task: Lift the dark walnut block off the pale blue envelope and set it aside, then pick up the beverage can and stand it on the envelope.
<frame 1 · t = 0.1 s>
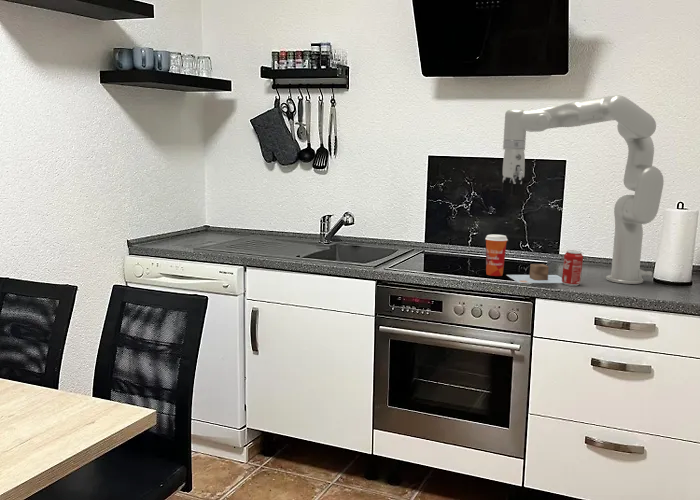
hand: (511, 194, 246), 31 cm above the table, fingers open, 9 cm apart
beverage can: (570, 285, 246), on the table, touching envelope
coffee cup: (494, 275, 261), on the table
walnut block: (538, 278, 254), resting on envelope
envelope: (538, 279, 254), on the table
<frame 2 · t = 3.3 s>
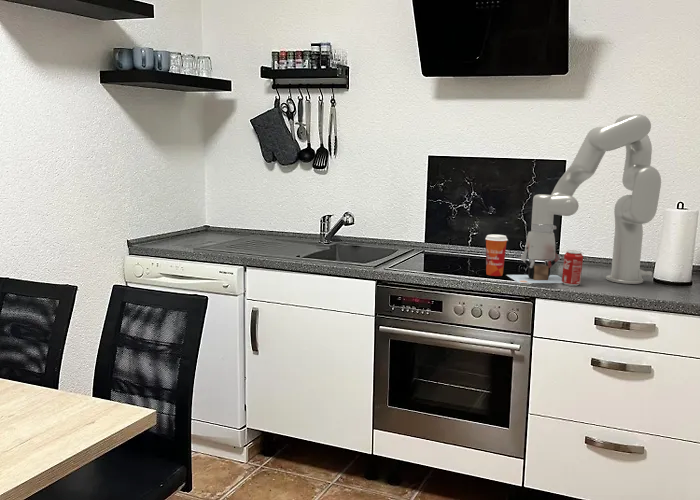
hand: (538, 277, 254), 1 cm above the table, fingers closed on walnut block, 5 cm apart
walnut block: (538, 278, 254), resting on envelope, touching gripper
everything else where it was.
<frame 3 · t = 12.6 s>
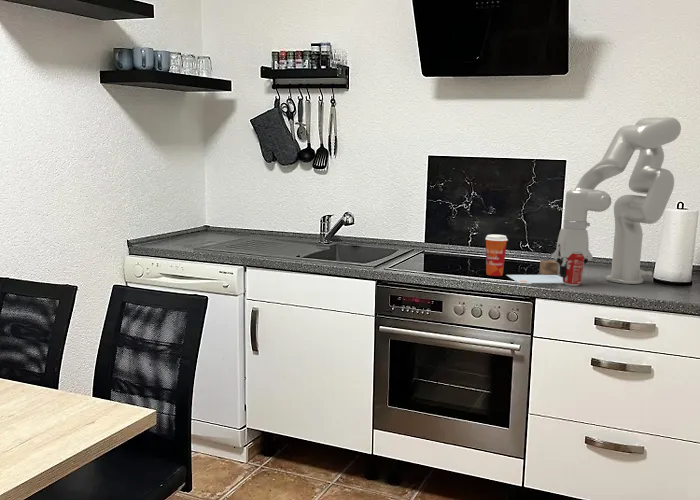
hand: (570, 276, 245), 3 cm above the table, fingers closed on beverage can, 4 cm apart
beverage can: (571, 285, 245), on the table, touching gripper
walnut block: (548, 274, 266), on the table
everything else where it was.
when the fingers open (3 cm above the table, at t = 19.5 s): beverage can stays where it is, resting on envelope.
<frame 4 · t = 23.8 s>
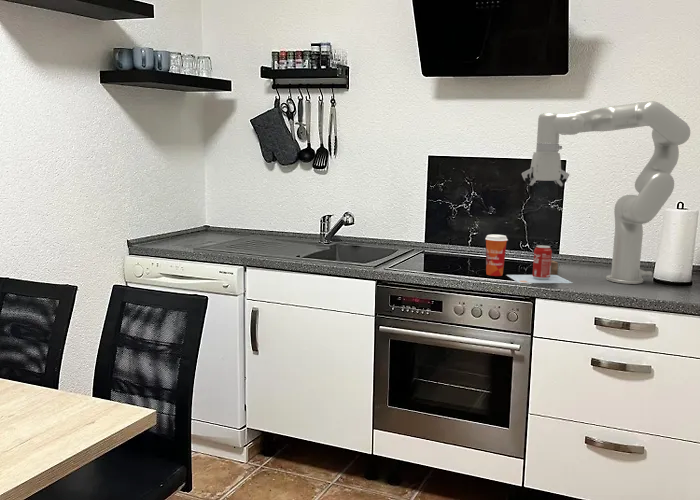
hand: (544, 196, 250), 30 cm above the table, fingers open, 9 cm apart
beverage can: (541, 279, 255), resting on envelope
everything else where it was.
at the end: beverage can 1.0 cm from the envelope (horizontally); beverage can tilted 0°; walnut block moved 13.7 cm from its start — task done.
